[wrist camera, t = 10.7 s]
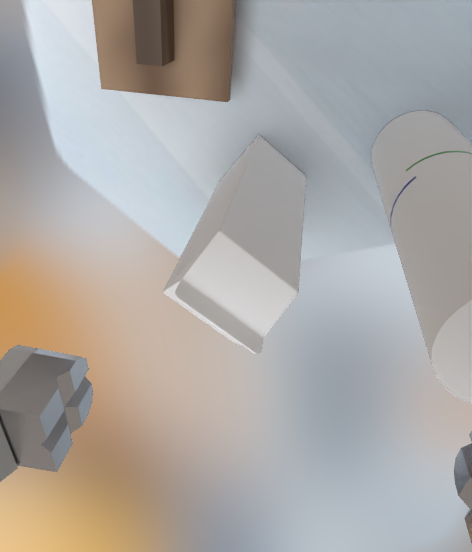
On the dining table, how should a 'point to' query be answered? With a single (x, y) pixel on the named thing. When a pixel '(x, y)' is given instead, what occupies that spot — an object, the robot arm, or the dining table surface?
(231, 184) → the milk
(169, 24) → the lid
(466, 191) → the cylindrical container
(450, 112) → the dining table surface
